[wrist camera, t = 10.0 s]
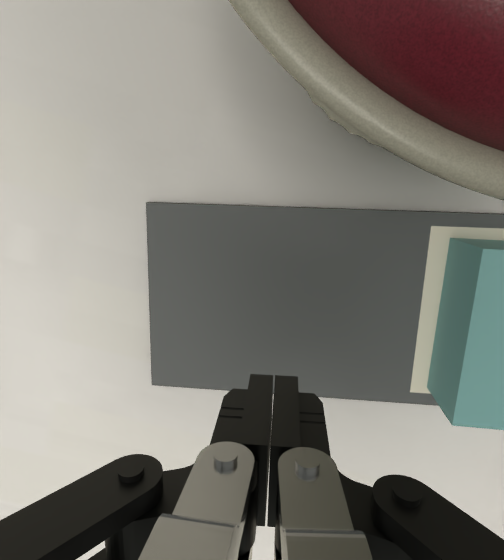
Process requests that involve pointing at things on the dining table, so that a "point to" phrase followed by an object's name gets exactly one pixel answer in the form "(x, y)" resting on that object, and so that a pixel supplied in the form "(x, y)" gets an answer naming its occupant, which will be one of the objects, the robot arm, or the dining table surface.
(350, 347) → the mat
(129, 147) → the dining table surface
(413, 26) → the canister
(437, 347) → the t block
